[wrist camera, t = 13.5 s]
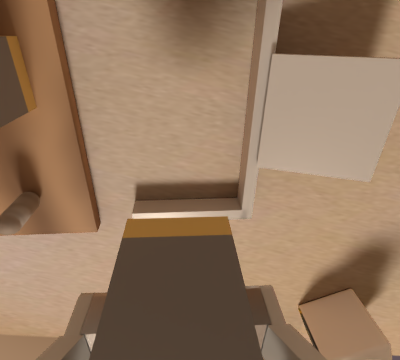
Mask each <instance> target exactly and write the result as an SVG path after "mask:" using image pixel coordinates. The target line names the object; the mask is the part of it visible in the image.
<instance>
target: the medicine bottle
mask: <svg viewBox="0 0 400 360" xmlns="http://www.w3.org/2000/svg"><path fill="white" fill-rule="evenodd" d="M298 309H299V312H300V314H301V317H302V320H303V322H304V325H305V327H306V330H307V333H308V335H309V337H310V340H311V342H312V344H313V347H314V348H316V349H317V350H318V351H319V352H320V353H321V354H322V355H323V356H324V357H325V358H326V359H327V360H392V353H391V345H390V343H389V341H388V340H387V338H386V337H385V336H384V334H383V333H382V331H381V330H380V328H379V327H378V325H377V324H376V322H375V321H374V320H373V318H372V317H371V315H370V314H369V312H368V311H367V309H366V308H365V307H364V305H363V304H362V302H361V301H360V299H359V298H358V296H357V295H356V294H355V292H354V291H353V290H352V289H347V290H344V291H341V292H338V293H335V294H332V295H329V296H326V297H323V298H320V299H317V300H314V301H311V302H308V303H305V304H302V305H299V307H298Z"/></svg>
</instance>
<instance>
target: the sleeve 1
mask: <svg viewBox="0 0 400 360" xmlns="http://www.w3.org/2000/svg"><path fill="white" fill-rule="evenodd" d="M35 108H37V107H36V103H35V99H34V96H33V92H32V89H31V85H30V82H29V78H28V74H27V71H26V67H25V64H24V60H23V57H22V53H21V49H20V46H19V42H18V39H17V36H0V128H1V127H2V126H4V125H6V124H8V123H10V122H12V121H13V120H15V119H17V118H19V117H21V116H23V115H24V114H26V113H28V112H30V111H32V110H34V109H35Z"/></svg>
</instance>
